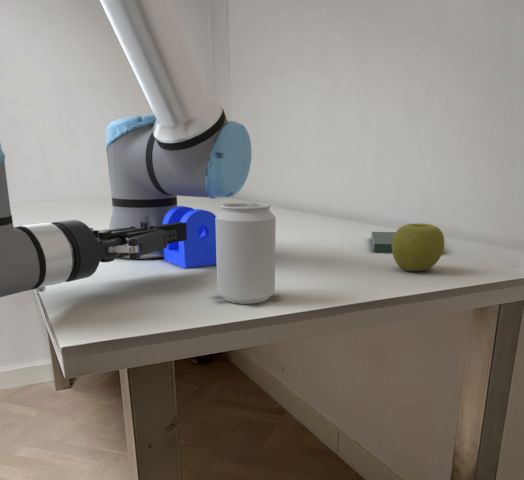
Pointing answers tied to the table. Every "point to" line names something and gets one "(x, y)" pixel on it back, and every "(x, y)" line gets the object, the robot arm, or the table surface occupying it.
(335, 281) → the table surface
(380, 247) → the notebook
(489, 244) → the table surface
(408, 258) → the apple
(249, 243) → the can
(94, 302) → the table surface
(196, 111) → the robot arm
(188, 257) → the bracket
